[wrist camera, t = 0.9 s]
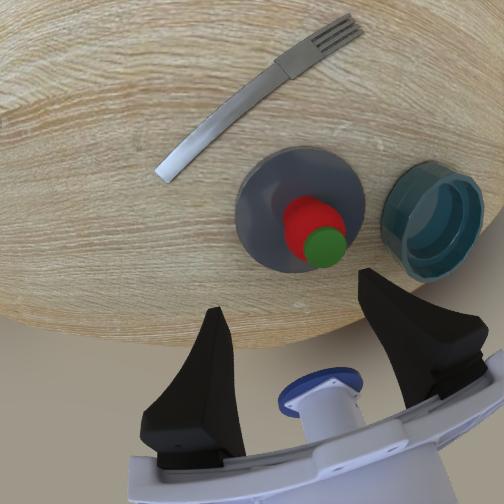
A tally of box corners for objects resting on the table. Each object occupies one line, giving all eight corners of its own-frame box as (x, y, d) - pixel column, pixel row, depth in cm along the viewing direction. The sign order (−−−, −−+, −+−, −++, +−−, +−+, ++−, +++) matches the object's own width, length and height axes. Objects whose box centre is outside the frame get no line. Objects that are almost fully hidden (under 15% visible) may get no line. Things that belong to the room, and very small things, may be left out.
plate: (378, 215, 22) (384, 220, 21) (288, 286, 25) (290, 293, 24) (312, 118, 18) (317, 119, 17) (206, 208, 20) (205, 214, 20)
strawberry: (339, 218, 21) (367, 250, 17) (298, 250, 22) (317, 288, 18) (309, 179, 19) (335, 204, 15) (266, 215, 20) (279, 249, 16)
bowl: (465, 218, 24) (489, 235, 20) (400, 276, 26) (420, 300, 23) (439, 139, 19) (470, 150, 16) (359, 206, 22) (383, 228, 18)
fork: (170, 184, 19) (169, 186, 19) (152, 167, 18) (150, 169, 18) (361, 33, 14) (364, 32, 14) (346, 14, 14) (349, 12, 13)
